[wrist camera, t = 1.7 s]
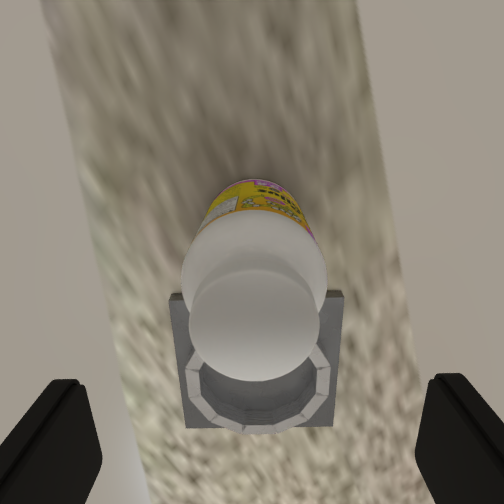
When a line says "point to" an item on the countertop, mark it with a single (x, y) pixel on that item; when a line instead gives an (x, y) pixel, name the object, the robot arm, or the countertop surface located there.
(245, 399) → the ring plate
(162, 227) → the countertop surface
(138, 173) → the countertop surface
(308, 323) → the supplement bottle
